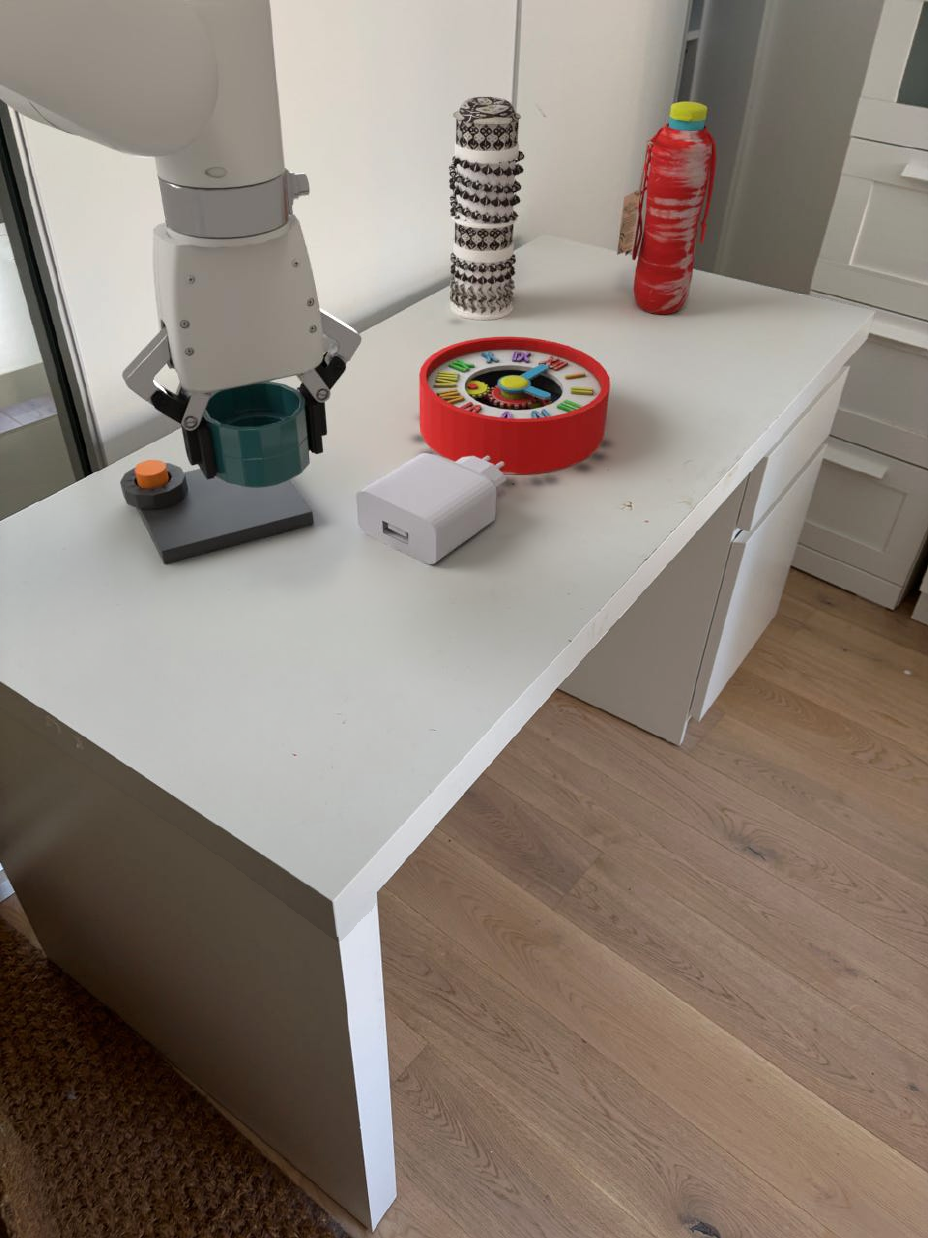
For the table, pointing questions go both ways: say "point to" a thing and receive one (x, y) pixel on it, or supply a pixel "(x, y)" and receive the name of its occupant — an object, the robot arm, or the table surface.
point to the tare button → (151, 474)
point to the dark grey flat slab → (211, 512)
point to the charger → (430, 504)
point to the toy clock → (513, 403)
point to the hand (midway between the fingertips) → (259, 455)
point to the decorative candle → (484, 207)
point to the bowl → (258, 434)
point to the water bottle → (670, 209)
